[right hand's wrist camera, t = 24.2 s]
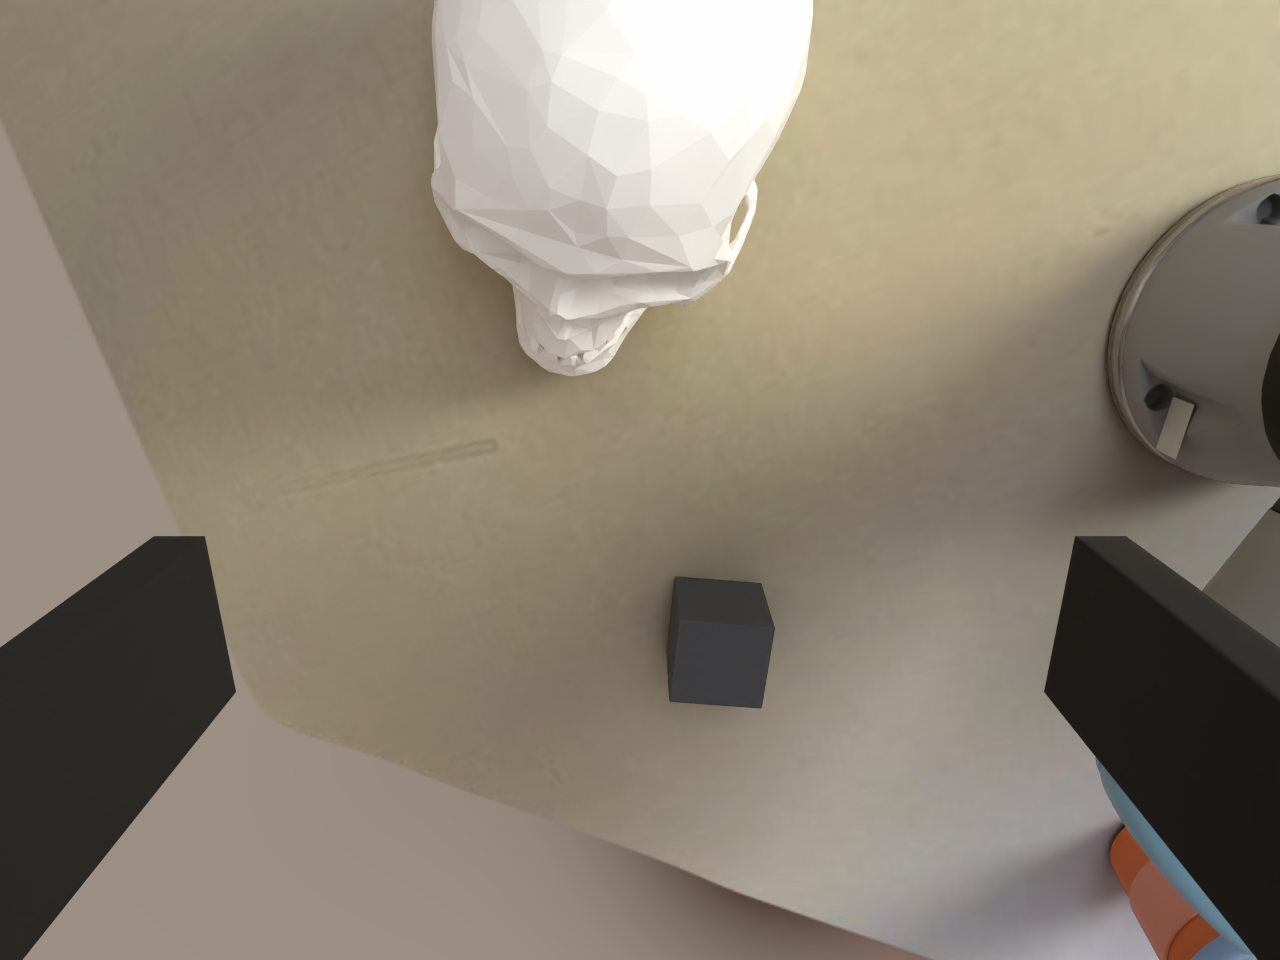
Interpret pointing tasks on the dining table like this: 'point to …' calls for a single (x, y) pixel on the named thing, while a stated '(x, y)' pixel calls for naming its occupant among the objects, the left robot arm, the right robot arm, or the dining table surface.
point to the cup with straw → (1165, 909)
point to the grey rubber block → (718, 643)
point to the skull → (607, 151)
